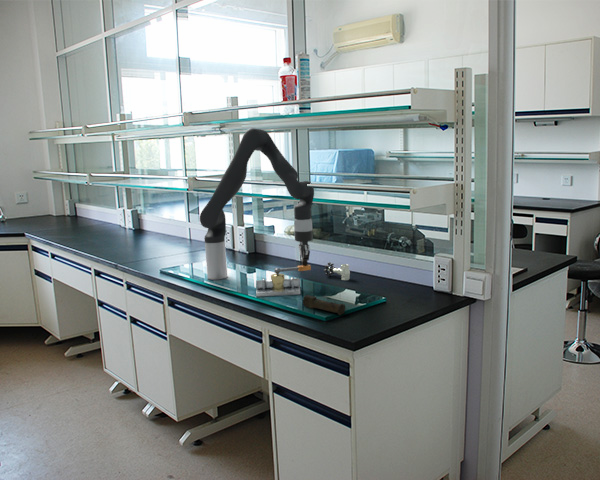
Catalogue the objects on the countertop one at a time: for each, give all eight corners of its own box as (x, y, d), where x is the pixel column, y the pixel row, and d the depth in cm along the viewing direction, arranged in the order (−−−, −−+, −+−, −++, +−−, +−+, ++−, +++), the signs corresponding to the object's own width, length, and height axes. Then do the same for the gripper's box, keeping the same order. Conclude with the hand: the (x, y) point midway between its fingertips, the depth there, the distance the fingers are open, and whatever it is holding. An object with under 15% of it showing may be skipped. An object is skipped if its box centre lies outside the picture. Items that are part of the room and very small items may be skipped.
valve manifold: (257, 288, 235) (256, 270, 234) (299, 286, 235) (298, 268, 234) (256, 296, 223) (255, 277, 222) (300, 294, 224) (299, 275, 222)
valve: (353, 278, 244) (333, 274, 253) (353, 264, 243) (333, 260, 252) (344, 281, 240) (324, 277, 248) (343, 267, 239) (323, 263, 247)
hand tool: (346, 313, 198) (345, 301, 197) (339, 316, 195) (338, 303, 194) (308, 304, 211) (307, 292, 210) (301, 307, 208) (300, 295, 207)
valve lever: (275, 273, 226) (274, 269, 226) (274, 272, 229) (273, 268, 228) (310, 269, 230) (310, 265, 229) (309, 268, 232) (309, 264, 232)
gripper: (315, 231, 224) (316, 272, 228) (309, 226, 237) (310, 264, 241) (297, 232, 223) (298, 273, 227) (291, 227, 236) (293, 266, 239)
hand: (304, 269), depth 234 cm, fingers closed
